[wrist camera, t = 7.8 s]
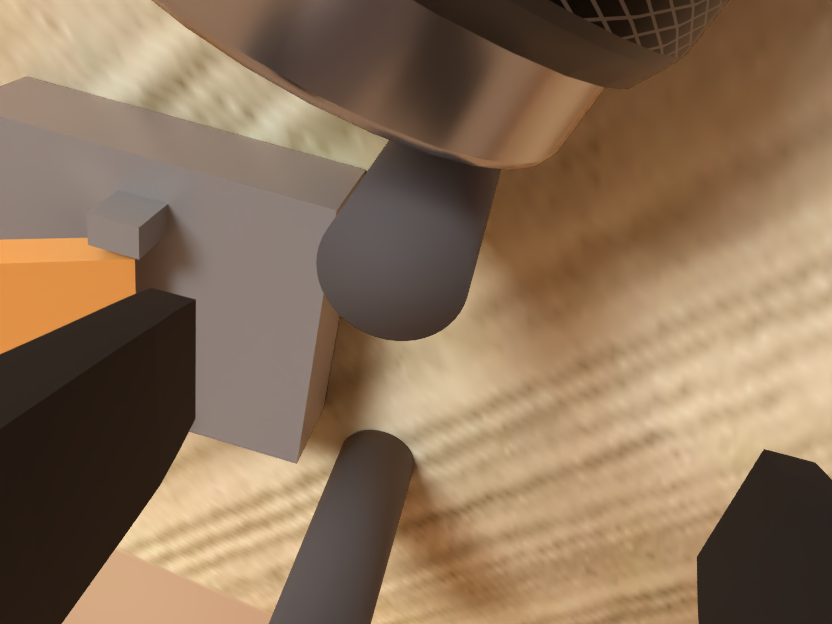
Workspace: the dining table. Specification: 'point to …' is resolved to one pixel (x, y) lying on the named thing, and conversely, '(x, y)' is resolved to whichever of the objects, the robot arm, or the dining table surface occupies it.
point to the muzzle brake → (454, 62)
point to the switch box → (192, 242)
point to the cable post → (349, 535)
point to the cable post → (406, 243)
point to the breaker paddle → (56, 285)
